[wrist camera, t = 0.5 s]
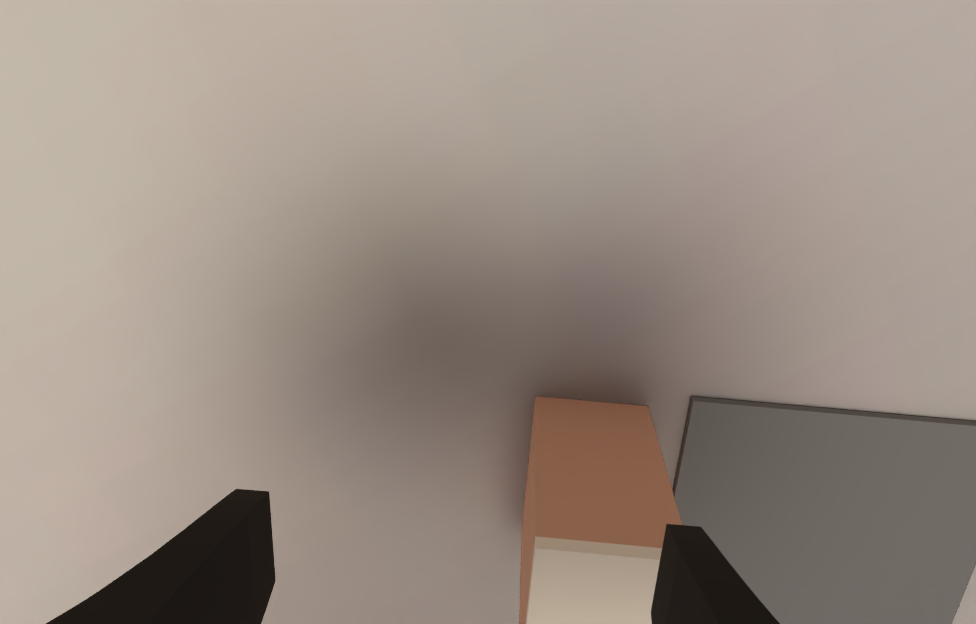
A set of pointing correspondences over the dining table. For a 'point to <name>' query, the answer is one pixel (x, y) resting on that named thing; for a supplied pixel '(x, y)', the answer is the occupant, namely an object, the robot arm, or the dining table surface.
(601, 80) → the dining table surface
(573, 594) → the block
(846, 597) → the mat
